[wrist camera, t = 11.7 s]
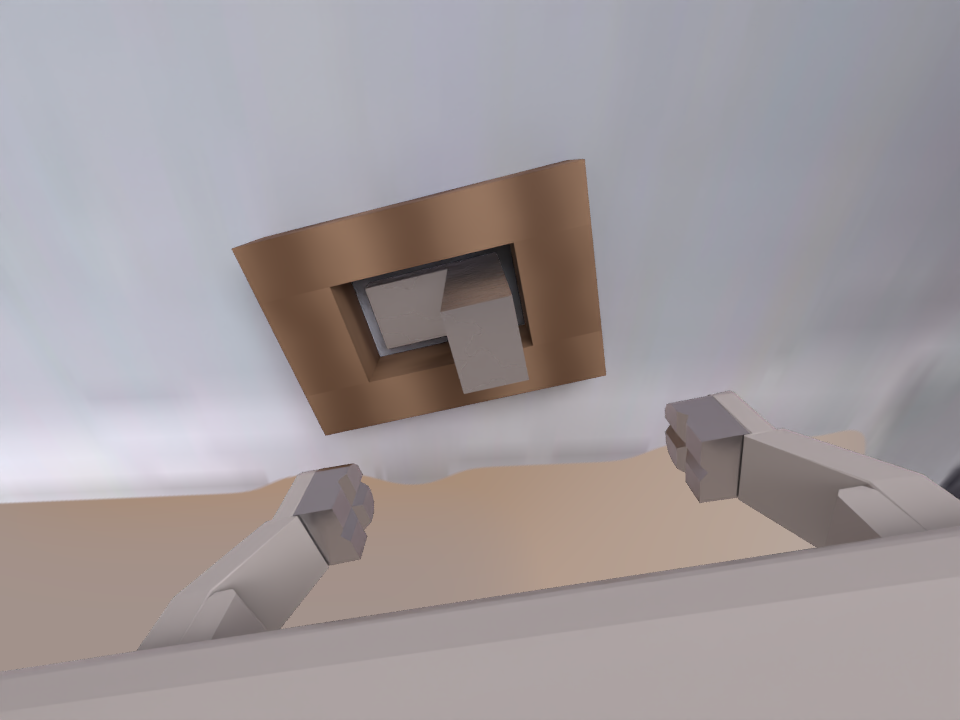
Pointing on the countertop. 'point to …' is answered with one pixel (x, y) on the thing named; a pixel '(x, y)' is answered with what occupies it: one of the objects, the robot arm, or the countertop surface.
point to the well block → (420, 240)
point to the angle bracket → (456, 318)
